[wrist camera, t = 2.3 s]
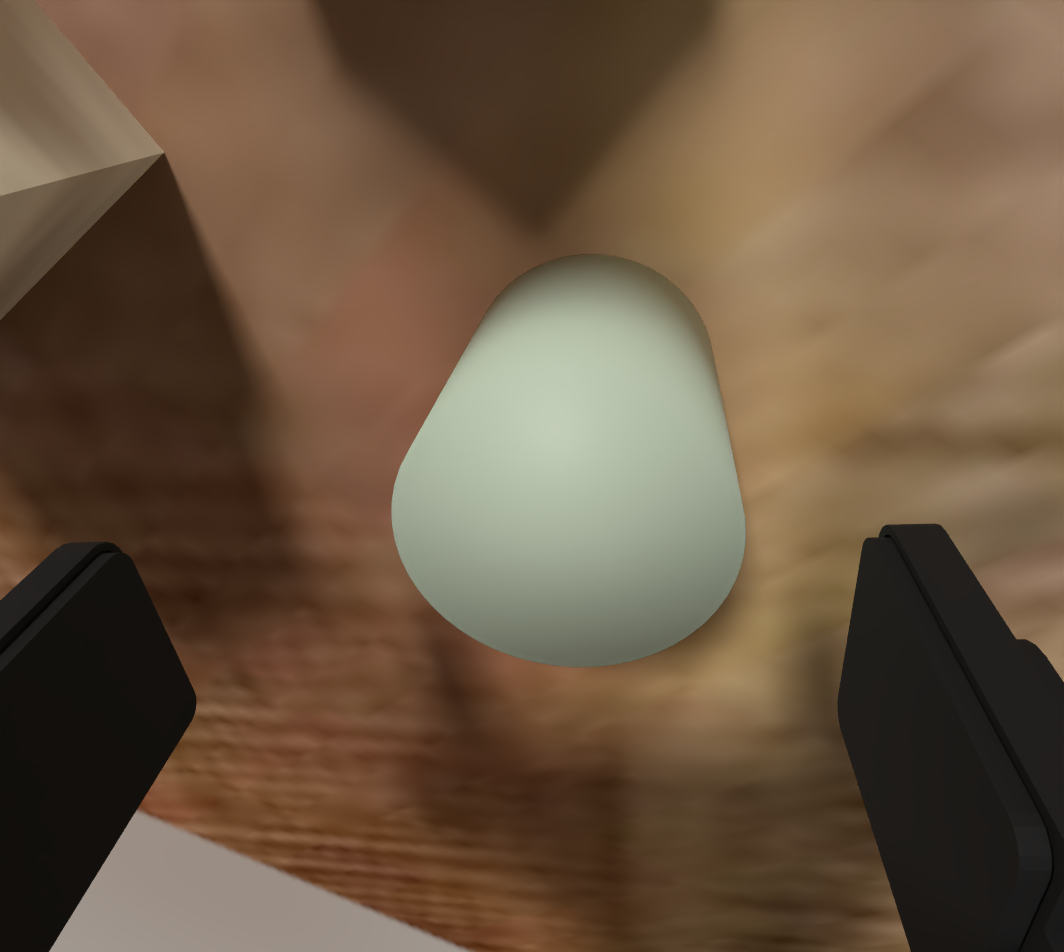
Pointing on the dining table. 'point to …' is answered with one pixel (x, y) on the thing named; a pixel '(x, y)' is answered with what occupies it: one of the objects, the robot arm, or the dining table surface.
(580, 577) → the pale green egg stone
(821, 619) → the dining table surface
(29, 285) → the tower base
